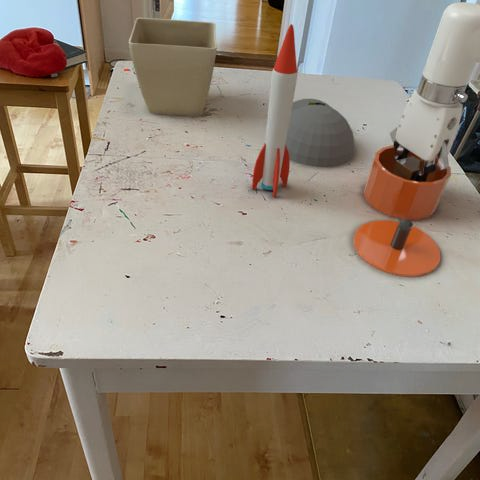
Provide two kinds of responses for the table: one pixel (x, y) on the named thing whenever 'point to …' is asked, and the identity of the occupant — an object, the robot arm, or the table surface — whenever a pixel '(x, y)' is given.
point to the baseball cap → (318, 135)
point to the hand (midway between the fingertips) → (405, 182)
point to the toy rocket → (278, 120)
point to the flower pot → (173, 64)
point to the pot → (403, 188)
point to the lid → (396, 248)
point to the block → (406, 167)
